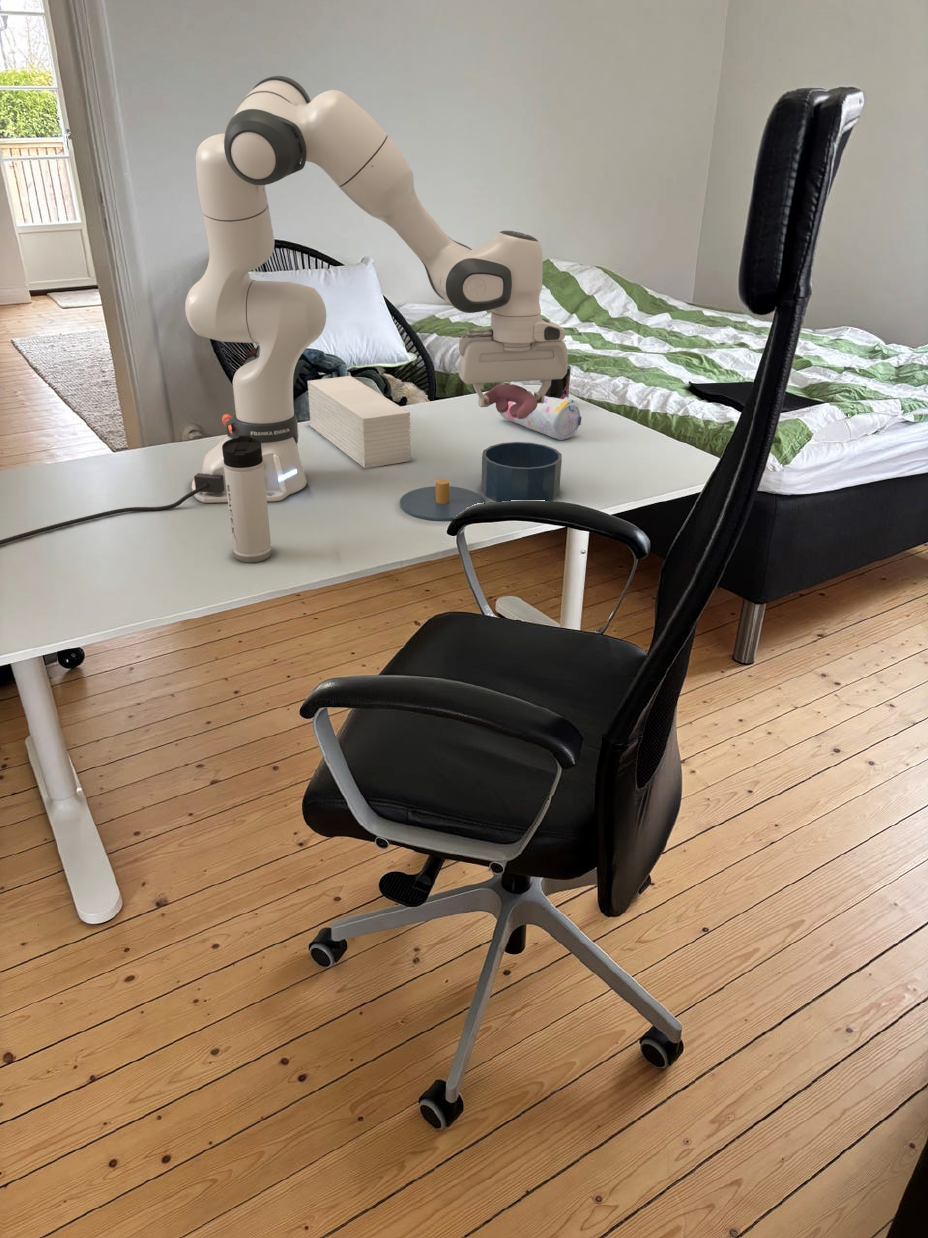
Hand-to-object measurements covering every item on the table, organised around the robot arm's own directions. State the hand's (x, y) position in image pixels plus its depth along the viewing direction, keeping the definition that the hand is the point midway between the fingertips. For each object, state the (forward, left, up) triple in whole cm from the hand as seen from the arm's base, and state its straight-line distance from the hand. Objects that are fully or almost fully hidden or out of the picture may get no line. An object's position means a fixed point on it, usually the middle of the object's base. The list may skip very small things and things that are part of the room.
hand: (511, 404), depth 173 cm
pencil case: (+21, +39, -19) cm, 48 cm away
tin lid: (-14, -1, -18) cm, 23 cm away
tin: (+3, +2, -19) cm, 19 cm away
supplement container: (+32, +55, -19) cm, 66 cm away
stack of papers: (-22, +40, -19) cm, 49 cm away
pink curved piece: (-1, 0, -2) cm, 2 cm away
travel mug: (-51, -13, -19) cm, 56 cm away
